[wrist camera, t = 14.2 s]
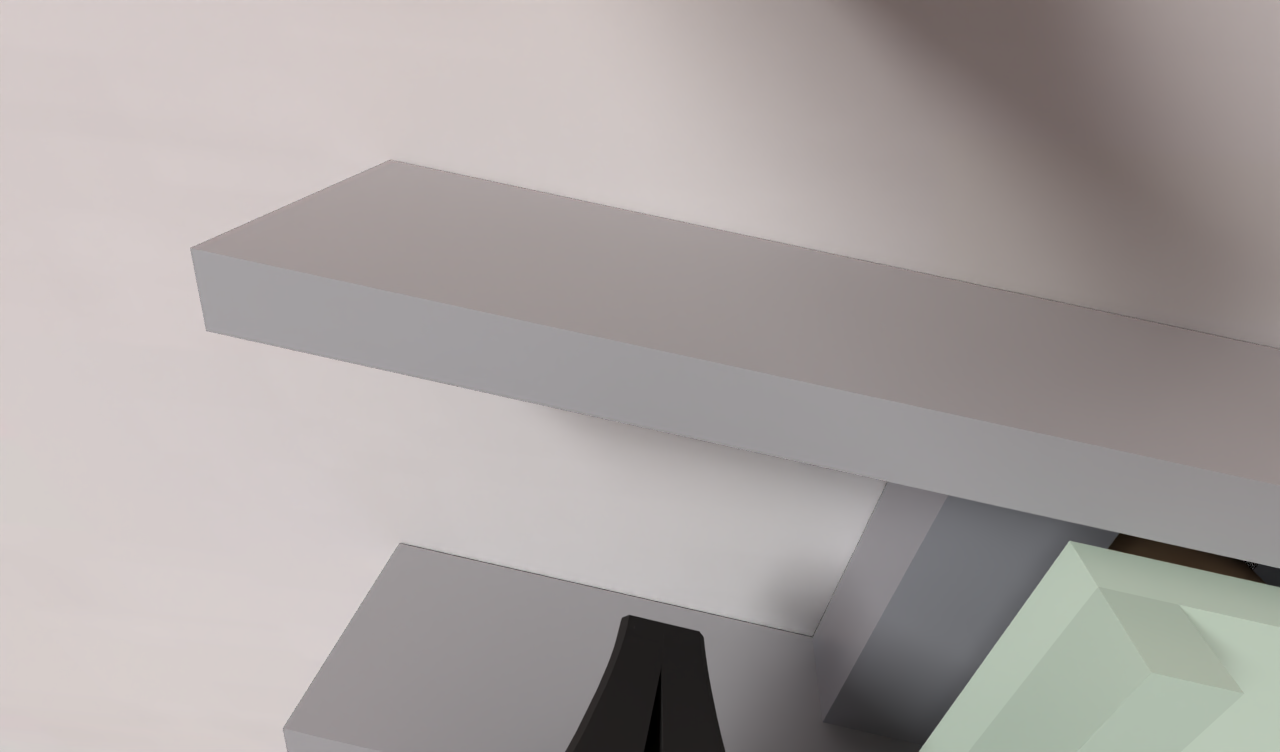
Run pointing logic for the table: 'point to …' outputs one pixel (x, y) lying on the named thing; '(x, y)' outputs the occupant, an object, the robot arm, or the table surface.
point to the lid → (1126, 664)
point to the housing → (749, 420)
